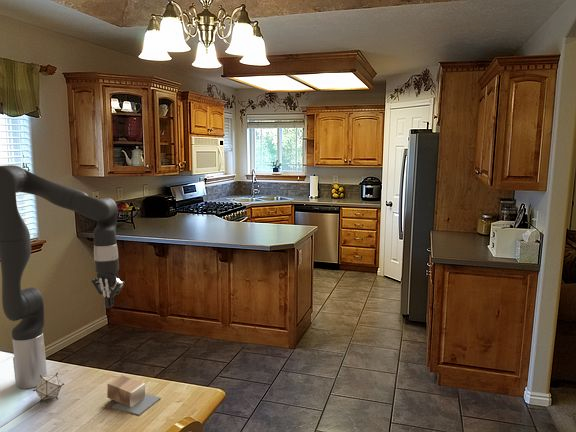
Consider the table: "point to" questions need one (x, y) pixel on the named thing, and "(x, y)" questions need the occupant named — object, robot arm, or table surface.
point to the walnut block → (126, 391)
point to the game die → (48, 387)
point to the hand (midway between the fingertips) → (109, 306)
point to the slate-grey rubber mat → (138, 405)
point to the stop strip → (110, 404)
